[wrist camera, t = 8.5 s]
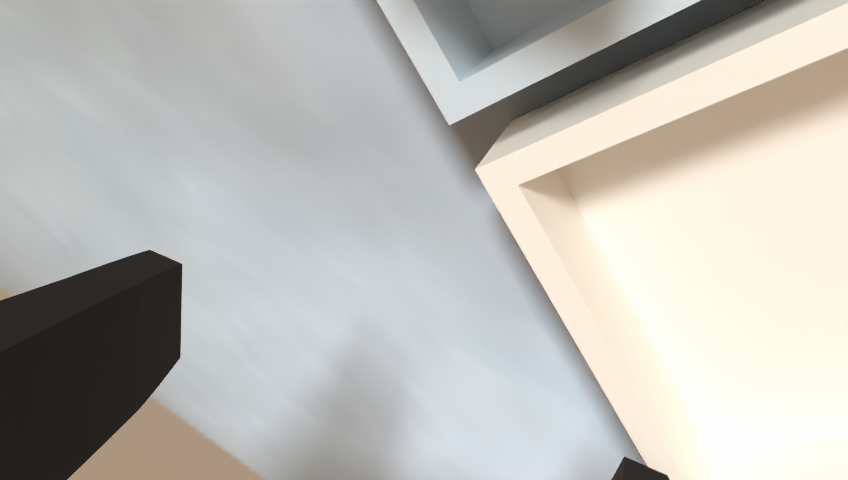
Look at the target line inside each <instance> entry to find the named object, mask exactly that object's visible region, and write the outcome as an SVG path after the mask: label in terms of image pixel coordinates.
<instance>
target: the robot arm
mask: <svg viewBox="0 0 848 480" xmlns="http://www.w3.org/2000/svg"><path fill="white" fill-rule="evenodd" d="M181 294H182V264H181V263H179V262H176V261H174V260H172V259H169V258H167V257H165V256H163V255H160V254H158V253H156V252H153V251H151V250H148V251H145V252H141V253H138V254H135V255H132V256H129V257H126V258H123V259H120V260H117V261H114V262H111V263H108V264H105V265H102V266H100V267H97V268H94V269H91V270H88V271H85V272H83V273H80V274H77V275H74V276H71V277H68V278H66V279H63V280H60V281H57V282H54V283H51V284H48V285H45V286H42V287H39V288H36V289H33V290H30V291H28V292H25V293H22V294H19V295H16V296H13V297H10V298H7V299H4V300H1V301H0V480H67V479H68V478H69V477H70V476H71V475H72V474H73V473H74V472H75V471H76V470H77V469H78V468H79V467H80V466H81V465H83V464H84V463H85V462H86V461H87V460H88V459H89V458H90V457H91V456H92V455H93V454H94V453H95V452H96V451H97V450H98V449H99V448H100V447H101V446H102V445H103V444H104V443H105V442H106V441H107V440H108V439H109V438H110V437H111V436H112V435H113V434H114V433H115V432H116V431H117V430H118V429H119V428H120V427H122V426H123V425H124V424H125V423H126V421H128V420H129V419H130V418H131V417H132V416H133V415H134V413H136V411H138V410H139V408H141V406H142V405H143V404H144V403H145V402H146V400H147V399H148V398H149V397H150V395H151V394H152V393H153V392H154V391H155V389H156V388H157V387H158V386H159V384H160V383H161V382H162V381H163V379H164V378H165V377H166V375H167V374H168V373H169V371H170V370H171V369H172V368H173V366H174V365H175V364H176V362H177V361H178V360H179V358H180V344H181ZM612 480H670V479H669V477H668V475H665V474H663V473H661V472H659V471H656V470H654V469H652V468H649V467H647V466H645V465H642V464H640V463H638V462H636V461H633V460H631V459H629V458H626V457H624V458H623V460H622V462H621V464H620V466H619V467H618V469H617V471H616V473H615V475H614V476H613V478H612Z"/></svg>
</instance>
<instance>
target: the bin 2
mask: <svg viewBox="0 0 848 480" xmlns="http://www.w3.org/2000/svg"><path fill="white" fill-rule="evenodd" d="M475 171H476V172H477V174H478V176H479V178H480V179H481V181H482V183H483V185H484V186H485V188H486V190H487V191H488V193H489V195H490V197H491V198H492V200H493V202H494V203H495V205H496V207H497V209H498V210H499V212H500V214H501V215H502V217H503V219H504V221H505V222H506V224H507V226H508V228H509V229H510V231H511V233H512V234H513V236H514V238H515V240H516V241H517V243H518V245H519V246H520V248H521V250H522V252H523V253H524V255H525V257H526V258H527V260H528V262H529V264H530V265H531V267H532V269H533V271H534V272H535V274H536V276H537V277H538V279H539V281H540V283H541V284H542V286H543V288H544V289H545V291H546V293H547V295H548V296H549V298H550V300H551V302H552V303H553V305H554V307H555V308H556V310H557V312H558V314H559V315H560V317H561V319H562V320H563V322H564V324H565V326H566V327H567V329H568V331H569V332H570V334H571V336H572V338H573V339H574V341H575V343H576V345H577V346H578V348H579V350H580V351H581V353H582V355H583V357H584V358H585V360H586V362H587V363H588V365H589V367H590V369H591V370H592V372H593V374H594V375H595V377H596V379H597V381H598V382H599V384H600V386H601V388H602V389H603V391H604V393H605V394H606V396H607V398H608V400H609V401H610V403H611V405H612V406H613V408H614V410H615V412H616V413H617V415H618V417H619V418H620V420H621V422H622V424H623V425H624V427H625V429H626V431H627V432H628V434H629V436H630V437H631V439H632V441H633V443H634V444H635V446H636V448H637V449H638V451H639V453H640V455H641V456H642V458H643V460H644V461H645V463H646V465H647V467H649V468H652V469H654V470H656V471H659V472H661V473H663V474H665V475H668V477H669V479H670V480H848V0H765V1H763V2H761V3H759V4H757V5H754V6H752V7H750V8H748V9H746V10H744V11H742V12H740V13H738V14H735V15H733V16H731V17H729V18H727V19H725V20H723V21H721V22H719V23H716V24H714V25H712V26H710V27H708V28H706V29H704V30H702V31H700V32H698V33H695V34H693V35H691V36H689V37H687V38H685V39H683V40H681V41H679V42H676V43H674V44H672V45H670V46H668V47H666V48H664V49H662V50H660V51H657V52H655V53H653V54H651V55H649V56H647V57H645V58H643V59H641V60H638V61H636V62H634V63H632V64H630V65H628V66H626V67H624V68H622V69H620V70H617V71H615V72H613V73H611V74H609V75H607V76H605V77H603V78H601V79H598V80H596V81H594V82H592V83H590V84H588V85H586V86H584V87H582V88H579V89H577V90H575V91H573V92H571V93H569V94H567V95H565V96H563V97H561V98H558V99H556V100H554V101H552V102H550V103H548V104H546V105H544V106H542V107H539V108H537V109H535V110H533V111H531V112H529V113H527V114H525V115H523V116H520V117H518V118H516V119H514V120H512V121H511V122H510V123H509V125H508V126H507V127H506V129H505V130H504V131H503V133H502V134H501V135H500V137H499V138H498V139H497V141H496V142H495V143H494V145H493V146H492V147H491V149H490V150H489V151H488V153H487V154H486V155H485V157H484V158H483V159H482V161H481V162H480V163H479V165H478V166H477V167H476V169H475Z"/></svg>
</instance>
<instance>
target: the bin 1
mask: <svg viewBox="0 0 848 480" xmlns="http://www.w3.org/2000/svg"><path fill="white" fill-rule="evenodd" d="M699 1H701V0H377V2H378V4H379V6H380V7H381V9H382V11H383V13H384V14H385V16H386V18H387V19H388V21H389V23H390V25H391V26H392V28H393V30H394V31H395V33H396V35H397V37H398V38H399V40H400V42H401V43H402V45H403V47H404V49H405V50H406V52H407V54H408V56H409V57H410V59H411V61H412V62H413V64H414V66H415V68H416V69H417V71H418V73H419V74H420V76H421V78H422V80H423V81H424V83H425V85H426V86H427V88H428V90H429V92H430V93H431V95H432V97H433V99H434V100H435V102H436V104H437V105H438V107H439V109H440V111H441V112H442V114H443V116H444V117H445V119H446V121H447V123H448V124H449V125H451V124H453V123H455V122H457V121H459V120H461V119H463V118H465V117H467V116H469V115H471V114H473V113H475V112H477V111H479V110H481V109H483V108H485V107H487V106H489V105H491V104H493V103H495V102H497V101H499V100H501V99H503V98H505V97H508V96H510V95H512V94H514V93H516V92H518V91H520V90H522V89H524V88H526V87H528V86H530V85H532V84H534V83H536V82H538V81H540V80H542V79H544V78H546V77H548V76H550V75H552V74H554V73H556V72H558V71H560V70H562V69H564V68H566V67H568V66H570V65H572V64H574V63H576V62H578V61H580V60H582V59H584V58H586V57H588V56H590V55H592V54H594V53H596V52H598V51H600V50H602V49H604V48H606V47H608V46H610V45H612V44H614V43H616V42H618V41H620V40H622V39H624V38H626V37H628V36H630V35H632V34H634V33H636V32H638V31H640V30H642V29H644V28H646V27H648V26H650V25H652V24H654V23H656V22H658V21H660V20H662V19H664V18H666V17H668V16H670V15H672V14H674V13H676V12H678V11H681V10H683V9H685V8H687V7H689V6H691V5H693V4H695V3H697V2H699Z"/></svg>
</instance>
